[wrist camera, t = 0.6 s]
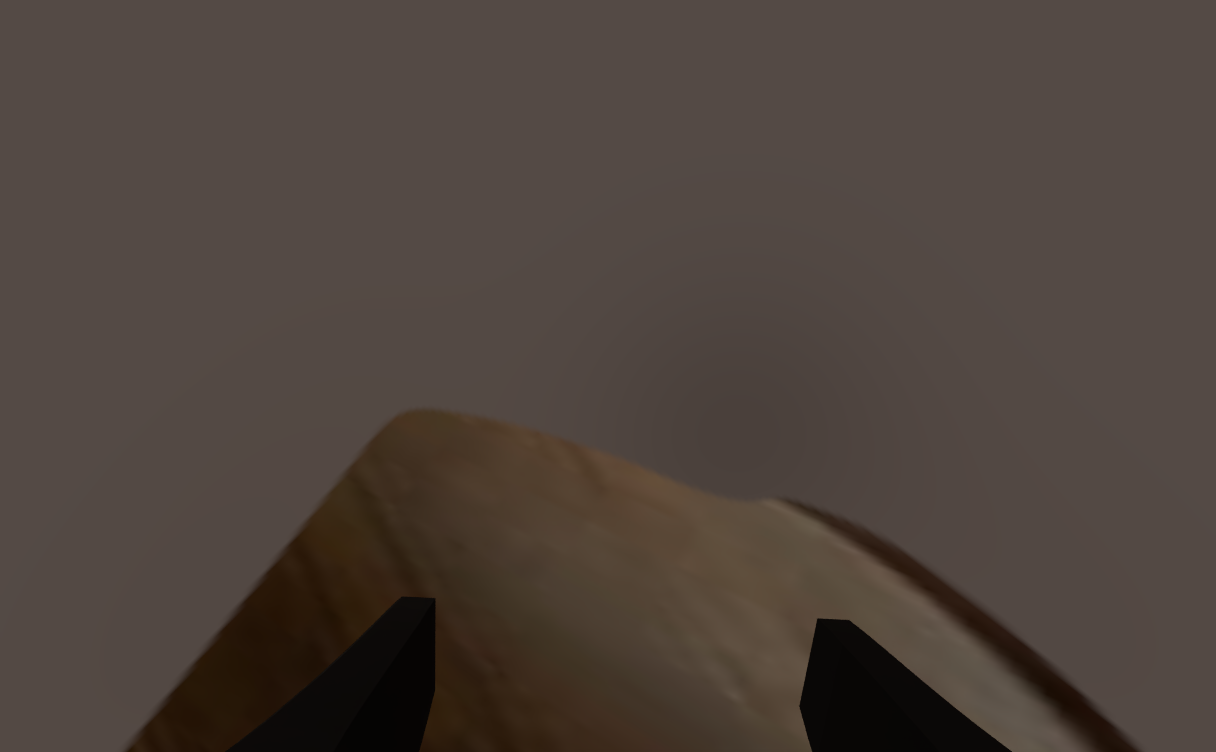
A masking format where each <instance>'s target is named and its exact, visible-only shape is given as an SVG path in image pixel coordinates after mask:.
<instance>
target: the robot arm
mask: <svg viewBox="0 0 1216 752" xmlns="http://www.w3.org/2000/svg"><path fill="white" fill-rule="evenodd" d="M434 692H435V598H419V597H401V598H400V599H399V600H397V601H396V602H395V603H394V604H393V605H392V606H391V607H390V608H389V609H388V610H387V611H386V612H385V613H384V614H383V615H382V616H381V617H380V618H379V619H378V620H377V621H376V622H375V623H374V624H373V625H372V626H371V627H370V628H369V629H368V630H367V631H366V632H365V633H364V634H363V635H362V636H361V637H360V638H359V639H357V640H356V641H355V642H354V643H353V644H352V645H351V646H350V647H349V648H348V649H347V650H346V651H345V652H344V653H343V654H342V655H341V656H339V657H338V658H337V659H336V660H335V661H334V662H333V663H332V664H331V665H330V666H329V667H328V668H326V669H325V670H324V671H323V672H322V673H321V674H320V675H319V676H318V677H317V678H316V679H314V680H313V681H312V682H311V683H310V684H309V685H308V686H306V687H305V688H304V689H303V690H302V691H300V692H299V693H298V694H297V695H296V696H295V697H293V698H292V699H291V700H290V701H289V702H287V703H286V704H285V705H284V706H283V707H281V708H280V709H279V710H278V711H277V712H276V713H274V714H273V715H272V716H271V717H270V718H268V719H267V720H266V721H265V722H263V723H262V724H261V725H260V726H258V727H257V728H256V729H254V730H253V731H252V732H251V733H249V734H248V735H247V736H246V737H244V738H243V739H242V740H240V741H239V742H238V743H236V744H235V745H234V746H232V747H231V748H230V749H228V750H227V751H225V752H419V750H420V746H421V743H422V739H423V735H424V731H425V728H426V724H427V720H428V716H429V712H430V708H431V704H432V700H433V696H434ZM799 707H800V710H801V714H802V718H803V721H804V725H805V728H806V732H807V736H808V739H809V743H810V746H811V749H812V752H1012V751H1010V750H1009V749H1008V748H1006V747H1005V746H1004V745H1002V744H1001V743H1000V742H998V741H997V740H996V739H995V738H993V737H992V736H991V735H989V734H988V733H987V732H985V731H984V730H983V729H981V728H980V727H979V726H977V725H976V724H975V723H974V722H972V721H971V720H970V719H969V718H967V717H966V716H965V715H963V714H962V713H961V712H960V711H958V710H957V709H956V708H955V707H953V706H952V705H951V704H950V703H949V702H947V701H946V700H945V699H944V698H942V697H941V696H940V695H939V694H938V693H936V692H935V691H934V690H933V689H931V688H930V687H929V686H928V685H927V684H925V683H924V682H923V681H922V680H921V679H920V678H918V677H917V676H916V675H915V674H914V673H912V672H911V671H910V670H909V669H908V668H906V667H905V666H904V665H903V664H902V663H901V662H899V661H898V660H897V659H896V658H895V657H893V656H892V655H891V654H890V653H889V652H888V651H886V650H885V649H884V648H883V647H882V646H880V645H879V644H878V643H877V642H876V641H875V640H873V639H872V638H871V637H870V636H869V635H867V634H866V633H865V632H864V631H862V630H861V629H860V628H859V627H857V626H856V625H855V624H853V623H852V622H851V621H849V620H837V619H817V623H816V628H815V633H814V638H813V643H812V648H811V652H810V657H809V662H808V667H807V672H806V677H805V682H804V686H803V691H802V696H801V701H800V706H799Z"/></svg>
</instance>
